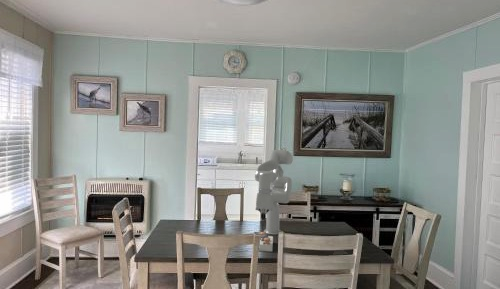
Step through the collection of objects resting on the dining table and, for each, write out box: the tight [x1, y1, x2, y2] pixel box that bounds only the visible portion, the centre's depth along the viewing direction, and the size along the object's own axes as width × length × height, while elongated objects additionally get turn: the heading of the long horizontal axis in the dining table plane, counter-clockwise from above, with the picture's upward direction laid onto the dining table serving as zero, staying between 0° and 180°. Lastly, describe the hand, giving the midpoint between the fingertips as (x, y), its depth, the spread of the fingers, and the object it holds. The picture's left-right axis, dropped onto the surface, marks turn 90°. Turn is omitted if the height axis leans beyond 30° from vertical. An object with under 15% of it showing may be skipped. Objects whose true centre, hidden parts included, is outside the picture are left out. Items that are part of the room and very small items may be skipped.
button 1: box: [259, 231, 267, 238], centre depth 250 cm, size 4×4×3 cm
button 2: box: [264, 238, 270, 245], centre depth 237 cm, size 4×4×3 cm
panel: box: [258, 235, 274, 253], centre depth 243 cm, size 19×10×4 cm, turn 176°
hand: (263, 219), depth 249 cm, fingers closed
